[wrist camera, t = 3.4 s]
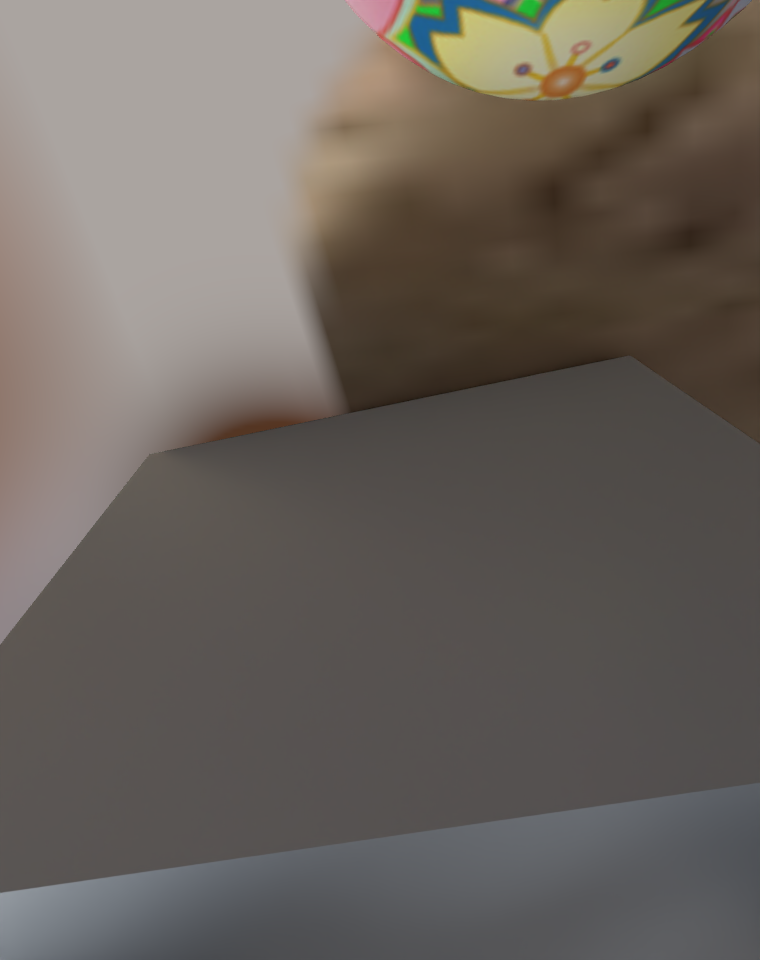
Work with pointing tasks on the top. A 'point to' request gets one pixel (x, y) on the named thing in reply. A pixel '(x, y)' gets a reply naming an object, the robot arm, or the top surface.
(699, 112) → the top surface
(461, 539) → the gray tilted carton
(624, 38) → the mug
